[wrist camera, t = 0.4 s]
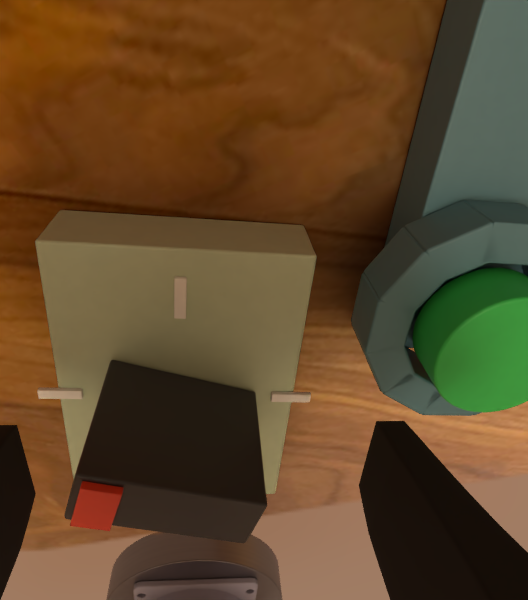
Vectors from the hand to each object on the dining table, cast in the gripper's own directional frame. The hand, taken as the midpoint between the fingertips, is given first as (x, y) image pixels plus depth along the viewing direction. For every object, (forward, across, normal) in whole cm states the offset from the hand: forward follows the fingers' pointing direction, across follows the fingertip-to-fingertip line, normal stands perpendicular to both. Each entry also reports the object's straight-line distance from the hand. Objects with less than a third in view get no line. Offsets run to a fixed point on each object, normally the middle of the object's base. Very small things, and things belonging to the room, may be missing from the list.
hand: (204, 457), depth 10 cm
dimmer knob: (+6, +1, +3) cm, 7 cm away
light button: (+5, -8, 0) cm, 9 cm away
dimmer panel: (+8, +1, +3) cm, 9 cm away
